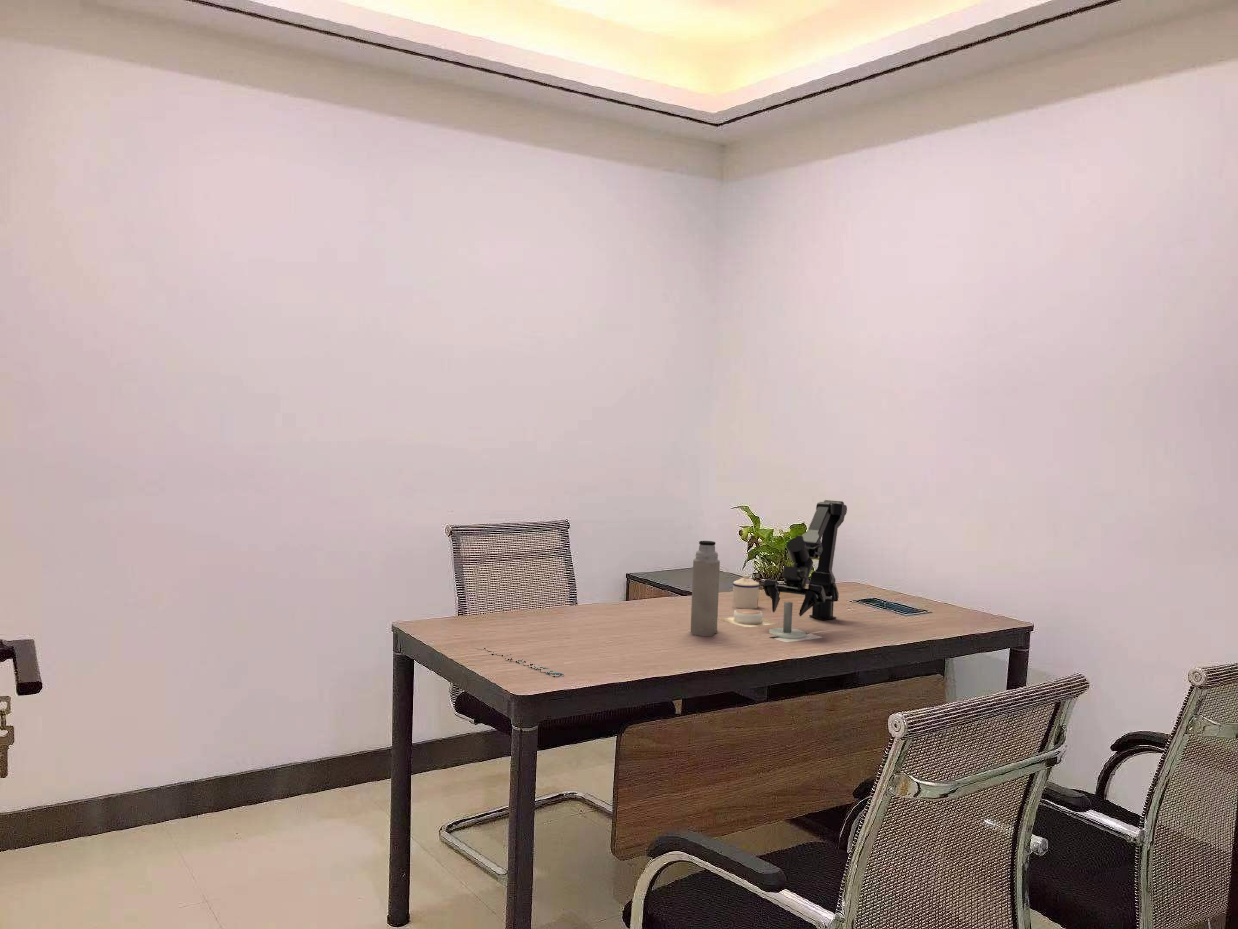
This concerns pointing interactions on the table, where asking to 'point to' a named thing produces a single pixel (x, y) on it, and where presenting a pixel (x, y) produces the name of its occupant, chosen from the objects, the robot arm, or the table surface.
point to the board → (731, 620)
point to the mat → (808, 636)
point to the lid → (787, 625)
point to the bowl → (748, 616)
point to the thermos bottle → (705, 590)
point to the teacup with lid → (745, 593)
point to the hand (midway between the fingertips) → (786, 613)
